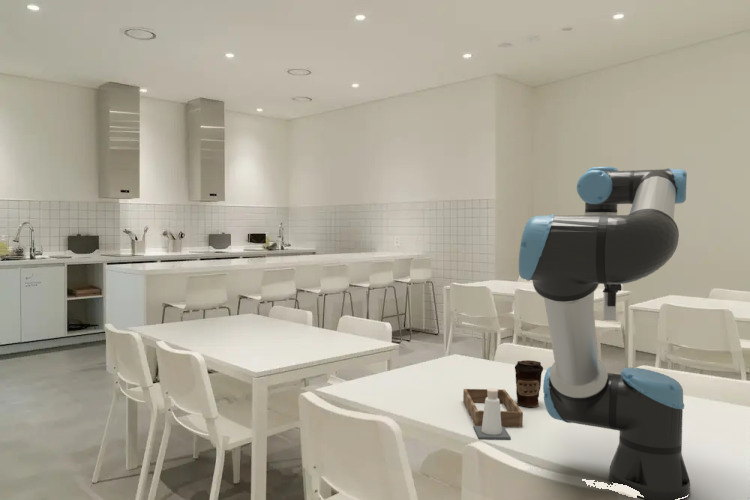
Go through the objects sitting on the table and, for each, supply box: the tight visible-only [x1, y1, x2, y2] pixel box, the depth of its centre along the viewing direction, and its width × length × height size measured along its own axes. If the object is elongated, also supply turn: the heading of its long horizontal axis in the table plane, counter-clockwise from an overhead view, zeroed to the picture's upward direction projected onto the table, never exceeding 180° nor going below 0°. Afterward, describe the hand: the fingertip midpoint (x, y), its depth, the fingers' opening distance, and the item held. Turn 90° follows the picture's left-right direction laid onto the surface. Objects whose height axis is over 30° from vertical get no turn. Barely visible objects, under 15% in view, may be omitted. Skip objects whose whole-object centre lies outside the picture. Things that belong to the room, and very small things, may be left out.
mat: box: [472, 425, 512, 441], centre depth 145 cm, size 8×8×1 cm
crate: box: [462, 388, 524, 428], centre depth 160 cm, size 22×13×4 cm, turn 0°
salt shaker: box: [481, 387, 502, 435], centre depth 144 cm, size 5×5×11 cm
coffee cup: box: [514, 359, 544, 408], centre depth 169 cm, size 9×8×13 cm
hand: (597, 315), depth 139 cm, fingers open, 13 cm apart
